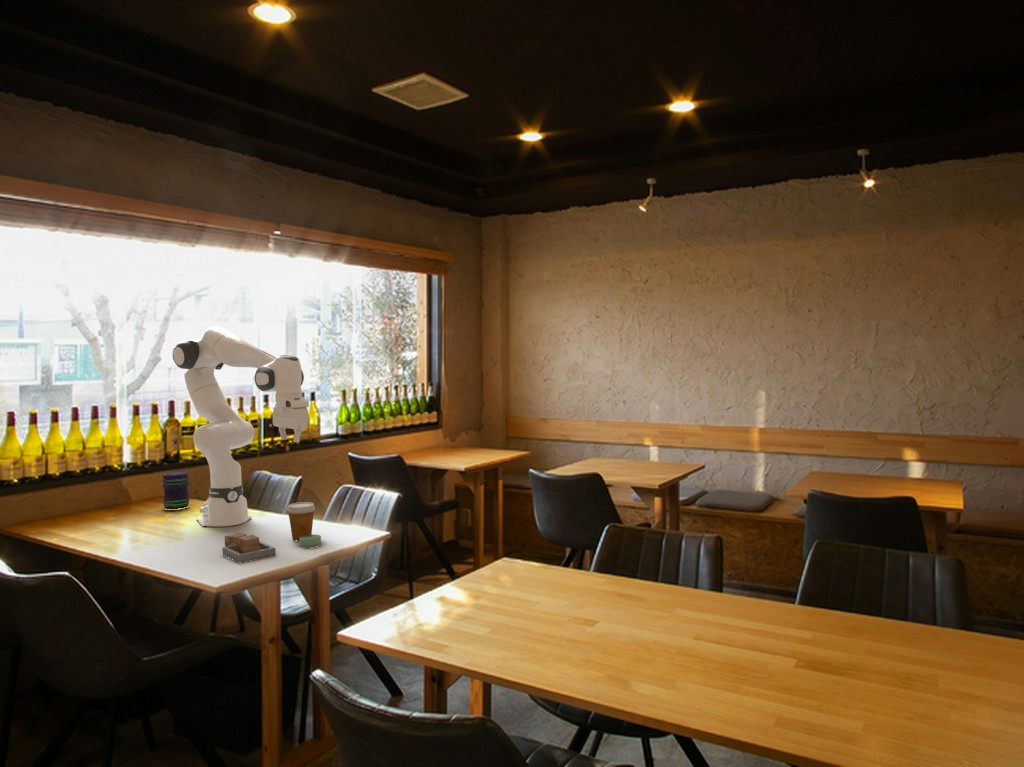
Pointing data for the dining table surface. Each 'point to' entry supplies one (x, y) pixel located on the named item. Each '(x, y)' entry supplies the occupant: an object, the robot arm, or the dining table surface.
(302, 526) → the disposable coffee cup
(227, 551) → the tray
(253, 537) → the walnut block
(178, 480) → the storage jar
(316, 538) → the sponge
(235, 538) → the walnut block
